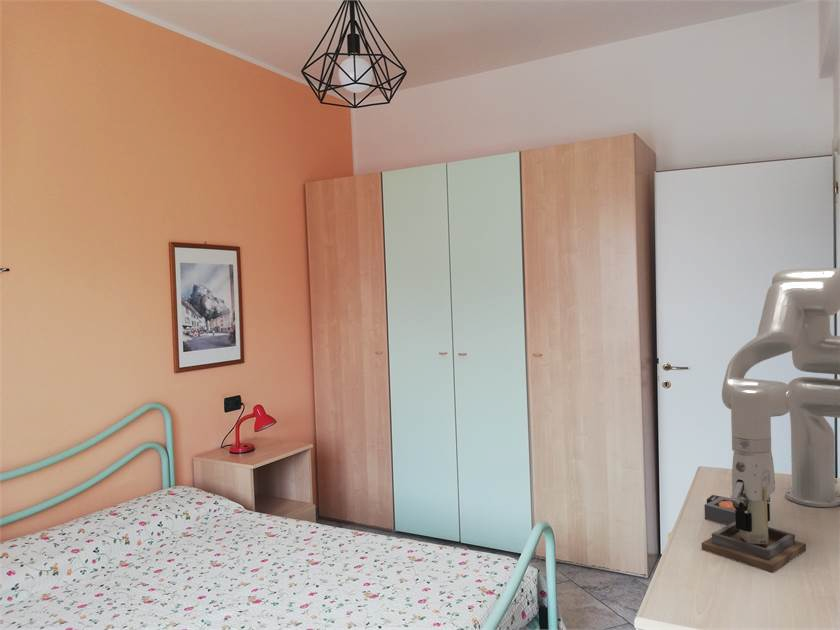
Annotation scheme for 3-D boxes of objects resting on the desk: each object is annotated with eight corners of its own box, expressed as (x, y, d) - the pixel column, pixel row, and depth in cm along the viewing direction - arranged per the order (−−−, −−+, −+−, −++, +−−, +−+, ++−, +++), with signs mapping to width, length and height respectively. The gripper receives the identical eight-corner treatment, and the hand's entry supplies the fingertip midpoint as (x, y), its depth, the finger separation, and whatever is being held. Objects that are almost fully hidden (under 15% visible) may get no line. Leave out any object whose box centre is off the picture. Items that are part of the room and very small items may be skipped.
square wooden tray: (736, 530, 150) (735, 515, 150) (805, 550, 138) (805, 534, 138) (701, 549, 141) (701, 533, 141) (772, 572, 129) (772, 555, 129)
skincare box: (769, 545, 136) (768, 488, 135) (747, 544, 137) (745, 488, 136) (759, 533, 143) (758, 478, 142) (738, 532, 143) (737, 478, 143)
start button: (725, 509, 160) (724, 499, 160) (742, 514, 157) (742, 504, 157) (715, 514, 158) (715, 504, 157) (733, 519, 154) (733, 508, 154)
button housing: (721, 510, 163) (721, 496, 163) (754, 518, 156) (753, 504, 156) (704, 518, 158) (704, 504, 158) (737, 527, 152) (737, 513, 151)
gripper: (749, 456, 130) (750, 542, 131) (788, 438, 141) (789, 518, 142) (713, 449, 136) (715, 531, 137) (753, 433, 147) (755, 509, 148)
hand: (753, 524), depth 140 cm, fingers closed on skincare box, 7 cm apart
